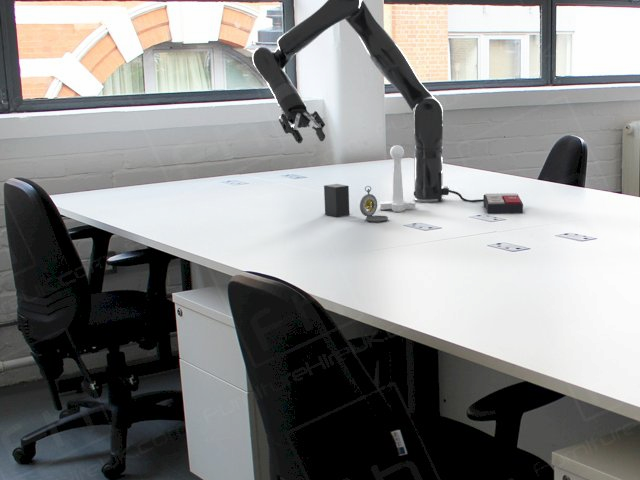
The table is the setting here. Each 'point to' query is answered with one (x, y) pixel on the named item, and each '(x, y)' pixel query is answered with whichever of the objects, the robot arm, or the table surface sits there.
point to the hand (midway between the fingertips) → (312, 140)
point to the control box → (503, 203)
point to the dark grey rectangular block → (336, 200)
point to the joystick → (397, 184)
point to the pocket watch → (371, 210)
